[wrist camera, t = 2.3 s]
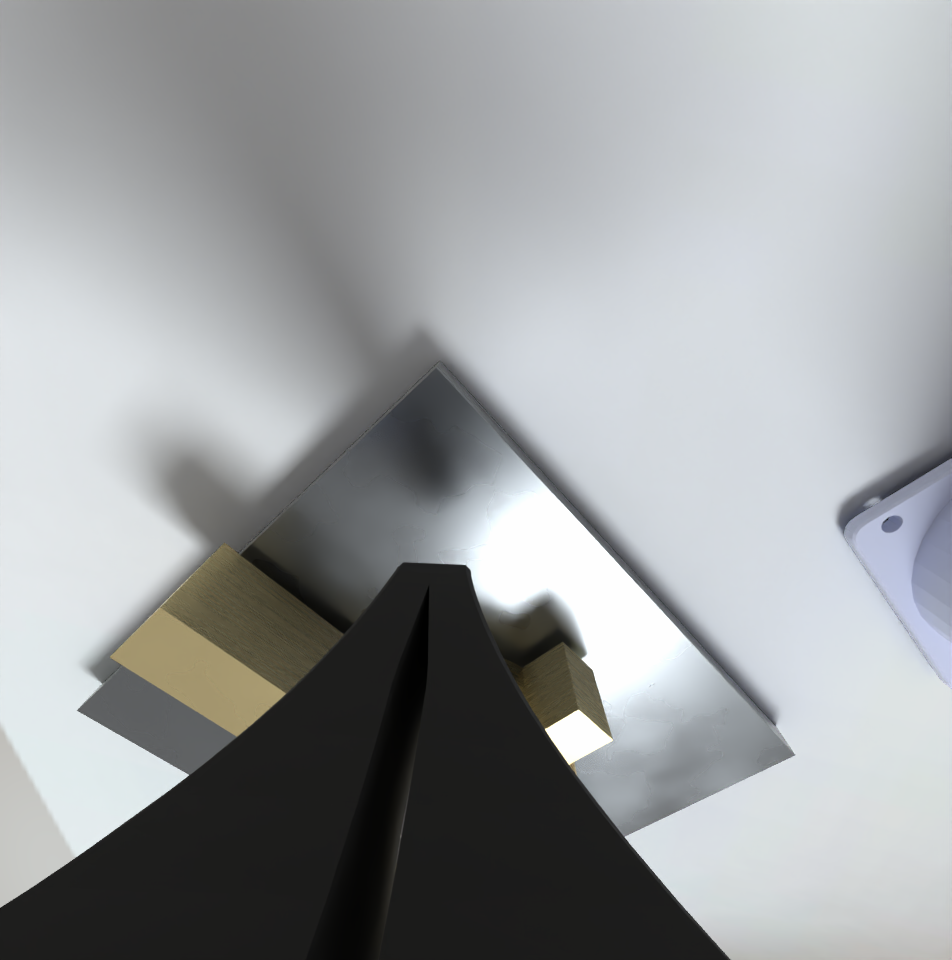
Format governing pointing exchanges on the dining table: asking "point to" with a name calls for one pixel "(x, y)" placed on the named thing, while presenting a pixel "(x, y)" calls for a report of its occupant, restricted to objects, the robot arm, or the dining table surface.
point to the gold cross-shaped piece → (307, 656)
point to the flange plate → (491, 603)
